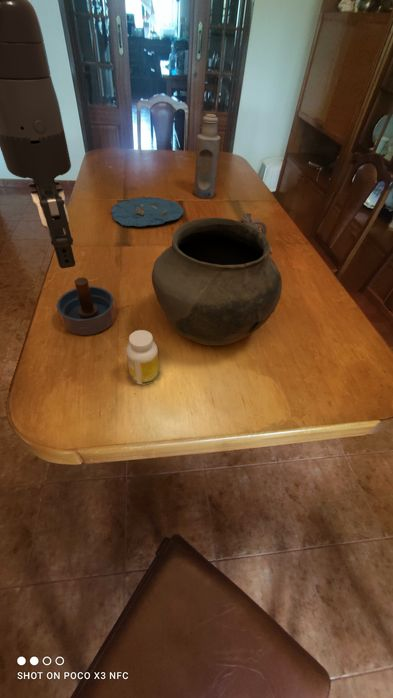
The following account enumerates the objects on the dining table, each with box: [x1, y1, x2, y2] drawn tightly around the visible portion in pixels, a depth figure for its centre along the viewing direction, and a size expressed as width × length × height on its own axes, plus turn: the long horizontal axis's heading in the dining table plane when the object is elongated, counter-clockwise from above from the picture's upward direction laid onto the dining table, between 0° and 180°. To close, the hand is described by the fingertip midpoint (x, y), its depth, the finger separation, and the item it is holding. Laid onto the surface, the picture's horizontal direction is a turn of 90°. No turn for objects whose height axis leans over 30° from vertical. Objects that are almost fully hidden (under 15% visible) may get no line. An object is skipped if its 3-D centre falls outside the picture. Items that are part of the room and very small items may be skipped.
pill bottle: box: [125, 329, 160, 385], centre depth 67 cm, size 6×6×12 cm
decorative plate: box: [110, 196, 184, 228], centre depth 126 cm, size 30×30×5 cm
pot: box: [151, 217, 283, 346], centre depth 75 cm, size 29×32×25 cm
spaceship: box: [241, 212, 273, 255], centre depth 114 cm, size 8×35×8 cm
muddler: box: [74, 277, 99, 319], centre depth 78 cm, size 5×5×11 cm
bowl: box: [56, 285, 117, 336], centre depth 81 cm, size 14×14×6 cm
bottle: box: [193, 113, 221, 199], centre depth 135 cm, size 10×10×30 cm
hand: (62, 252), depth 49 cm, fingers open, 8 cm apart
